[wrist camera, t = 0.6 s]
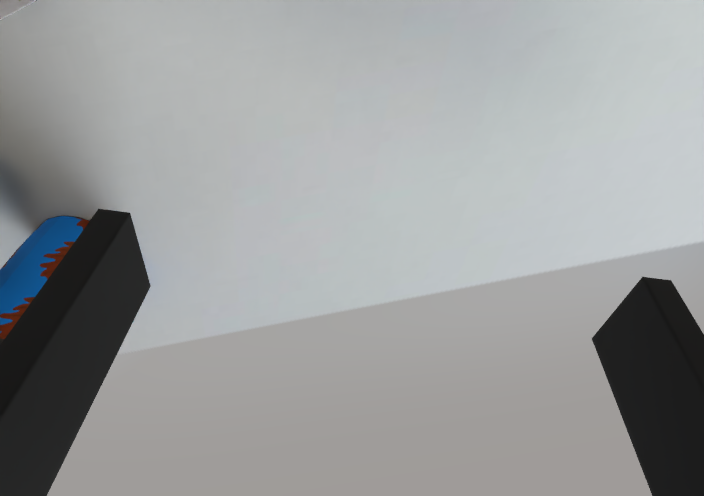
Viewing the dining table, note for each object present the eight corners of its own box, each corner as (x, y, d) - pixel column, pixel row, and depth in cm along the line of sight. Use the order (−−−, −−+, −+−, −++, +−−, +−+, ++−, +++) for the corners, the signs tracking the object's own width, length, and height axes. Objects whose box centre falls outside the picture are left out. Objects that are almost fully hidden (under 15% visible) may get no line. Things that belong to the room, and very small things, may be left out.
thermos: (44, 199, 49) (-154, 424, 31) (143, 242, 53) (17, 467, 35) (30, 256, 56) (-141, 471, 38) (119, 292, 60) (2, 503, 41)
